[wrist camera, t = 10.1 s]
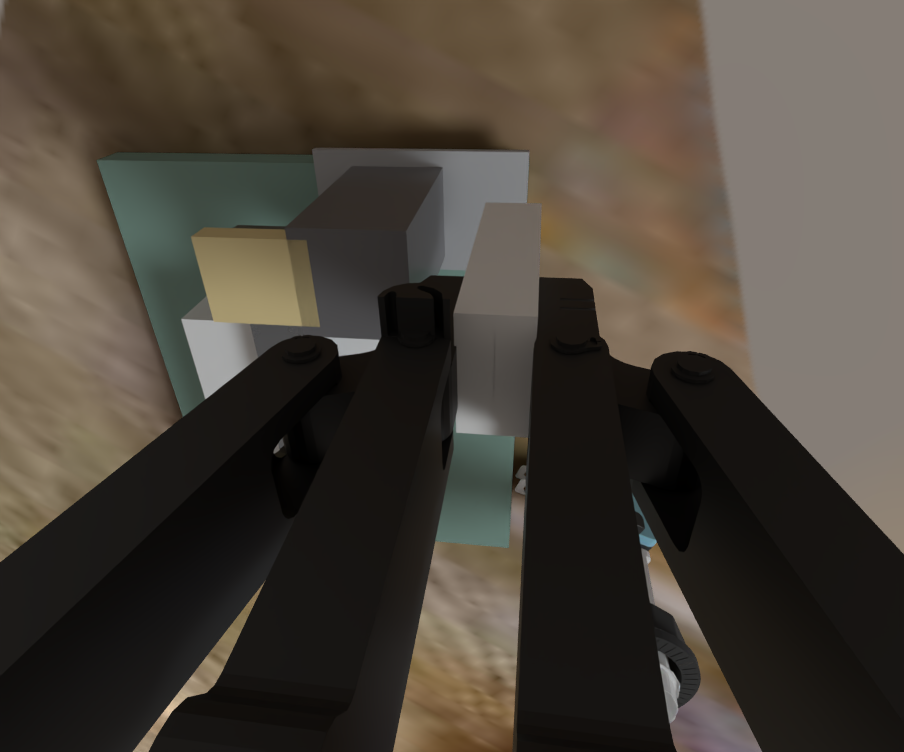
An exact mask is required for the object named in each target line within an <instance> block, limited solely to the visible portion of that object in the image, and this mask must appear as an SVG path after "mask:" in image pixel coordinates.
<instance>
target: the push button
mask: <svg viewBox="0 0 904 752" xmlns="http://www.w3.org/2000/svg"><path fill="white" fill-rule="evenodd" d="M524 473H526V466H525V465H522V466H521V467H520V469H519V470H518V472H517V473H516V478H519V479H521V480H520V481H519V483H518V485H517V486H516V488H515V491H516V492H518V493H520V494H523V495H525V490H524V489H523V488H524V487H525V486H526V483H525V482H526V476H525V475H524ZM632 495H633V493H632ZM633 502H634V508H635V514H636V520H637V526H638V532H639V538H640V545H641V551H642V557H643V563H644V569H645V575H646V582H647V588H648V594H649V600H650V606H651V612H652V619H653V625H654V631H655V637H656V643H657V649H658V656H659V662H660V668H661V674H662V680H663V686H664V693H665V699H666V705H667V711H668V717H669V723H671V722H672V721H673V720H674V719H675V716H676V713H677V712H678V708H679V707H681V706H683V705H684V704H685V703H687V702H688V701H689V700H690V699H691V698H692V697H693V696H694V695H695V694H696V692H697V690H698V688H699V685H700V680H701V678H700V671H699V666H698V662H697V659H696V657H695V655H694V653H693V652H692V650H691V649H690V648H689V647H688V646H687V645H686V644H685V641H684V639H683V637H682V635H681V633H680V631H679V628H678V626H677V624H676V622H675V620H674V618H673V616H672V615H671V614H669V613H667V612H666V611H664V610H662V609H660V608H659V607H657V606H655V603H654V597H653V592H652V586H651V581H650V575H649V569H648V563H649V562H650V554H649V552H648V551H649V550H650V549H651V548H652V547H653V546H654V545H655V543H656V542H657V541H656V539H655V537H654V535H653V533H652V531H651V529H650V527H649V525H648V523H647V521H646V519H645V517H644V515H643V513H642V511H641V509H640V507H639V505H638V503H637V501H636V499H635V497H634V495H633Z"/></svg>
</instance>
